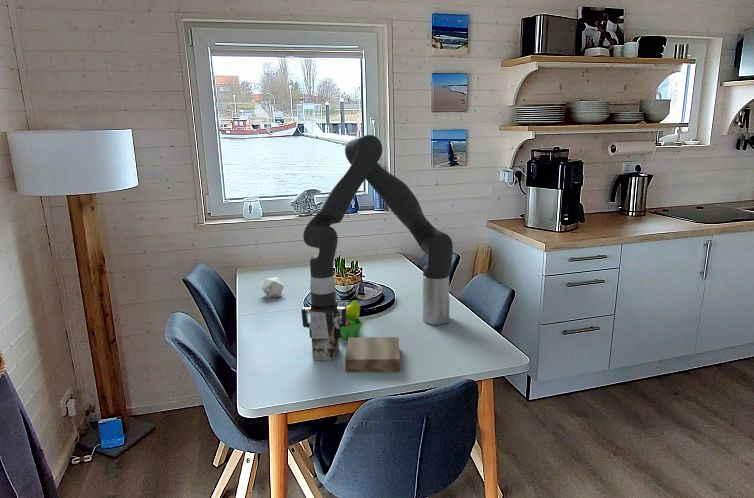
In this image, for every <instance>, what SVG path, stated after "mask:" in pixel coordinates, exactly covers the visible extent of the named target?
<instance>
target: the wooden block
mask: <svg viewBox="0 0 754 498" xmlns="http://www.w3.org/2000/svg"><path fill="white" fill-rule="evenodd" d="M347 339H348V340H347V346H346V350H345V359H344V364H345V365H344V368H345V369H344V370H345V373H370V372H371V373H372V372H373V373H375V372H376V373H377V372H378V373H380V372H381V373H382V372H383V373H385V372H386V373H388V372H395V373H396V372H399V373H400V372H401V367H400V366H401V365H400V363H401V362H400V359H401V358H400V357H401V356H400V341H399V336H381V337H380V336H377V337H376V336H367V337H366V336H365V337H364V336H363V337H361V336H360V337H359V336H358V337H353V338H347Z"/></svg>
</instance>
